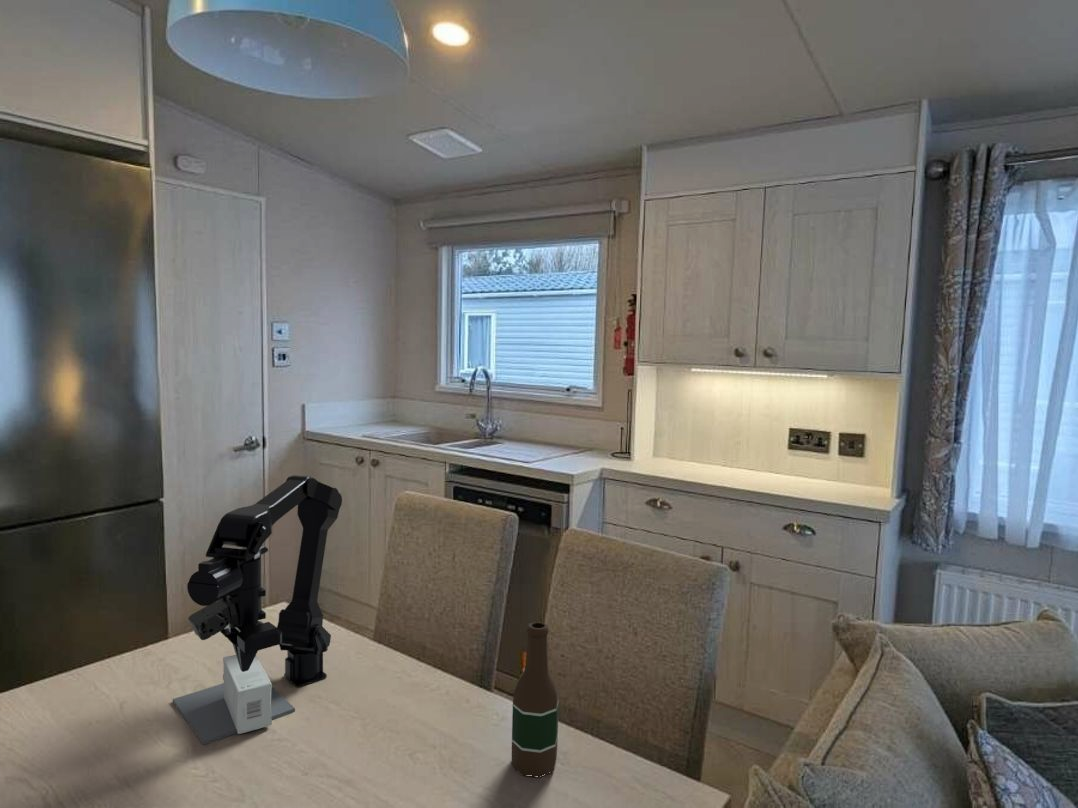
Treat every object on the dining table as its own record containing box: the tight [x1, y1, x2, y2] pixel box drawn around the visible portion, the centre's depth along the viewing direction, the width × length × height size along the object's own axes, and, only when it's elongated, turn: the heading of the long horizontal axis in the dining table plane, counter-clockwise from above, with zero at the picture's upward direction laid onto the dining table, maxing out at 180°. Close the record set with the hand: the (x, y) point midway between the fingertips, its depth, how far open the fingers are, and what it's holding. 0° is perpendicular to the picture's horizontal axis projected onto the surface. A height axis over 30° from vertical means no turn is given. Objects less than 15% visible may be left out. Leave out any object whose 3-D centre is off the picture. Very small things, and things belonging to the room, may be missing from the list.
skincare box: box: [222, 654, 273, 735], centre depth 124 cm, size 8×6×15 cm
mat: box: [172, 682, 296, 745], centre depth 127 cm, size 16×18×1 cm
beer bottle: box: [511, 621, 560, 778], centre depth 111 cm, size 8×8×24 cm
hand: (244, 670), depth 118 cm, fingers closed
